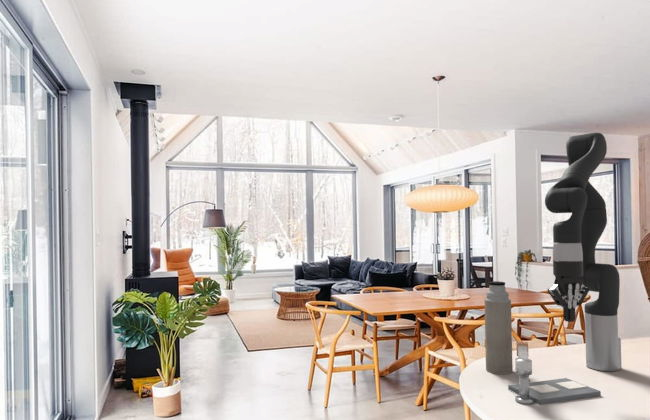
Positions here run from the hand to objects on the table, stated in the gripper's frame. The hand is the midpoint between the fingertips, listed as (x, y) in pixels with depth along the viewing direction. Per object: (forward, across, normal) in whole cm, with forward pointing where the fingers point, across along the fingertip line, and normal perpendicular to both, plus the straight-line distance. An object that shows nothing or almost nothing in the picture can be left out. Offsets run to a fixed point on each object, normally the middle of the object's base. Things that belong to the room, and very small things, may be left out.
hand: (569, 321), depth 134 cm
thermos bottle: (+19, +7, -22) cm, 30 cm away
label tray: (+19, +6, 0) cm, 20 cm away
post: (+19, +18, +3) cm, 26 cm away
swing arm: (+12, +12, -4) cm, 18 cm away
